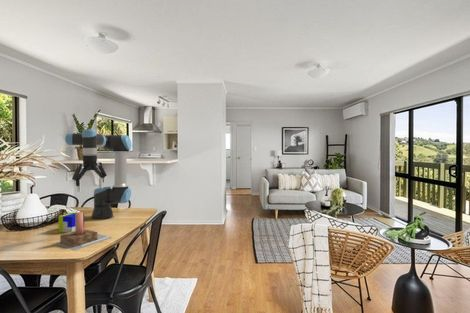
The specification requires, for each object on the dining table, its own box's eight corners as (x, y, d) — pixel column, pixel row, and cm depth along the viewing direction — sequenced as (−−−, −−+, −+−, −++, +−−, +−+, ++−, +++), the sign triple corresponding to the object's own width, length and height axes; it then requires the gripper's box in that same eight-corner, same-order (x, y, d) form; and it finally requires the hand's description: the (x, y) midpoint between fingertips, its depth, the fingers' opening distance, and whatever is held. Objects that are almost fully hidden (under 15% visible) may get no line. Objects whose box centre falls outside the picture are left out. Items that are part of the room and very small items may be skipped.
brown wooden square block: (83, 236, 151) (83, 228, 151) (97, 239, 145) (97, 232, 145) (60, 243, 140) (60, 235, 140) (74, 247, 134) (74, 239, 134)
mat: (91, 233, 158) (91, 232, 158) (112, 238, 149) (112, 237, 149) (52, 244, 139) (52, 243, 139) (74, 251, 129) (74, 250, 129)
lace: (107, 237, 149) (107, 236, 149) (108, 237, 149) (108, 236, 149) (80, 246, 135) (80, 245, 135) (81, 246, 135) (81, 245, 135)
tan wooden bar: (80, 239, 145) (80, 212, 145) (84, 240, 143) (84, 212, 143) (73, 241, 142) (73, 213, 141) (78, 243, 140) (78, 214, 140)
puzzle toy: (71, 232, 160) (71, 217, 160) (58, 231, 162) (58, 216, 162) (84, 228, 170) (84, 213, 170) (71, 227, 172) (71, 212, 172)
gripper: (104, 154, 166) (105, 186, 167) (64, 155, 143) (65, 192, 144) (112, 154, 162) (112, 187, 163) (72, 155, 140) (73, 193, 141)
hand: (90, 189), depth 154 cm, fingers open, 13 cm apart
